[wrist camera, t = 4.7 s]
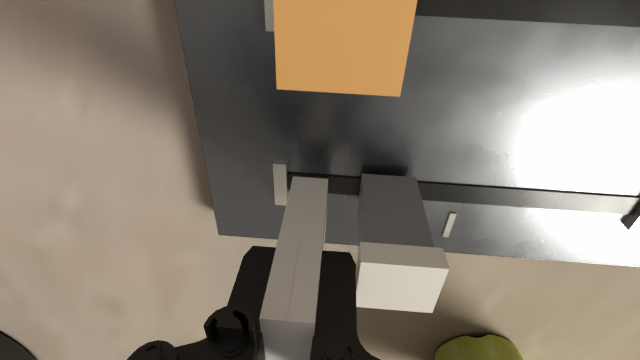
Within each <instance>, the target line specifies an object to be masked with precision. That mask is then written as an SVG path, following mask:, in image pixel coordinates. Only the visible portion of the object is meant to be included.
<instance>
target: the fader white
mask: <svg viewBox="0 0 640 360" xmlns="http://www.w3.org/2000/svg"><path fill="white" fill-rule="evenodd" d="M358 244H359V254H358V261H357V268H356V307H363V308H376V309H388V310H400V311H412V312H424V313H433V310H434V307H435V305H436V302H437V300H438V297H439V294H440V292H441V289H442V287H443V284H444V281H445V279H446V276H447V274H448V271H449V266H448V263H447V260H446V256H445V253H444V249H443V248H436V247H434V243H433V239H432V236H431V232H430V228H429V224H428V221H427V217H426V213H425V209H424V206H423V202H422V198H421V194H420V191H419V187H418V183H417V179H416V177H404V176H390V175H375V174H362V177H361V185H360V192H359V200H358Z"/></svg>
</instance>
